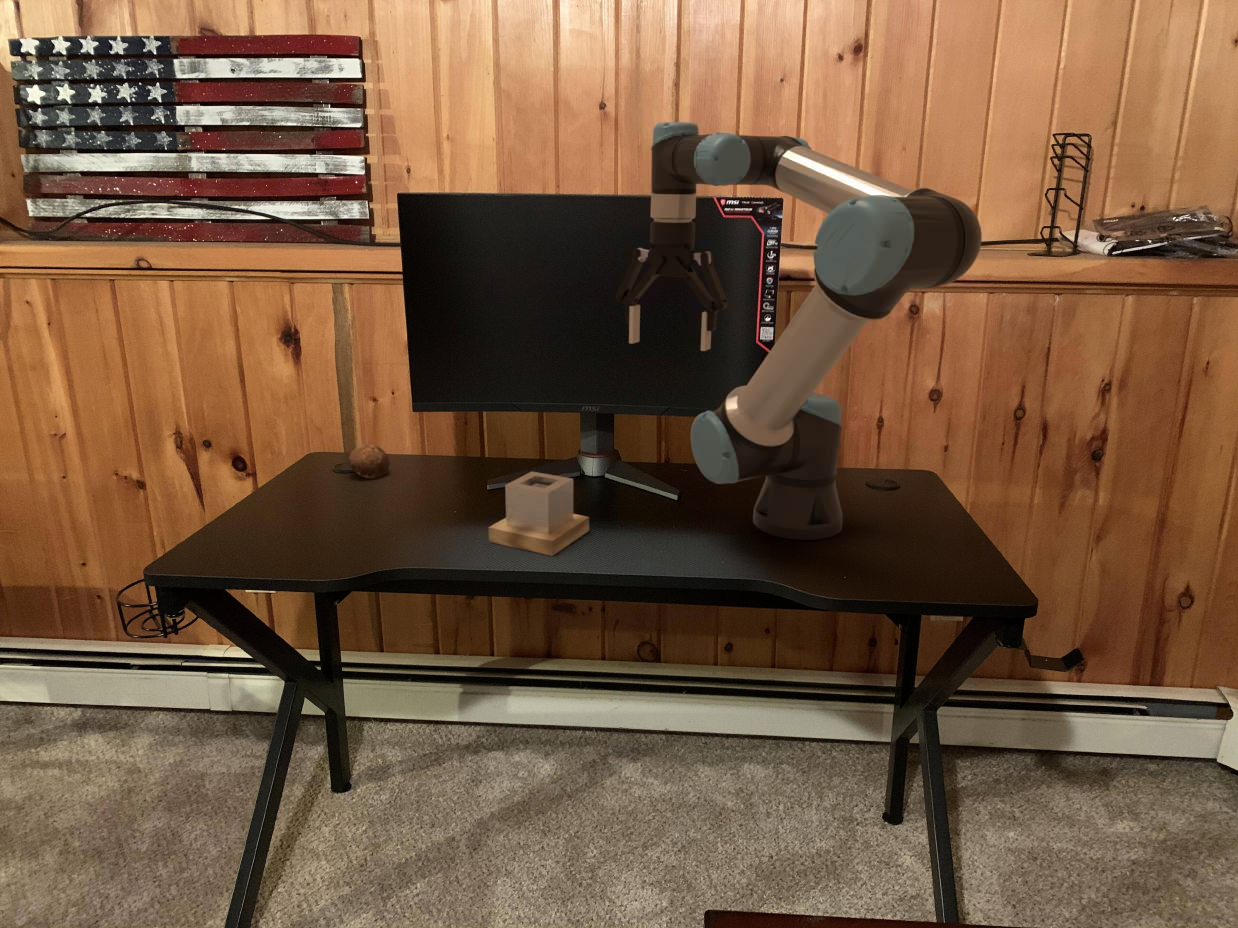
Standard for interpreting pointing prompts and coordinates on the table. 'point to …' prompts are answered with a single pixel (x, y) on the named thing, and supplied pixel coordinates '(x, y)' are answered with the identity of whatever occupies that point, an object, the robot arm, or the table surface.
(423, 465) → the table surface
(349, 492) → the table surface
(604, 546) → the table surface
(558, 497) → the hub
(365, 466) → the brown round lump
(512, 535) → the block
